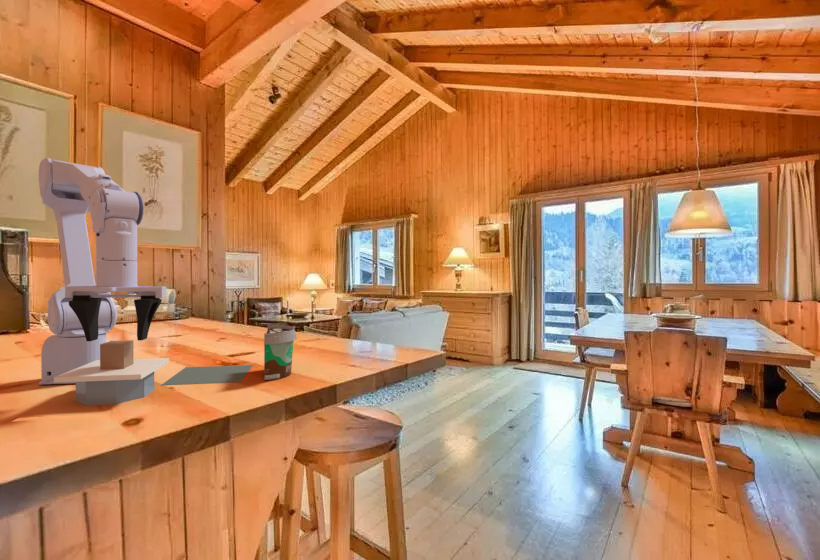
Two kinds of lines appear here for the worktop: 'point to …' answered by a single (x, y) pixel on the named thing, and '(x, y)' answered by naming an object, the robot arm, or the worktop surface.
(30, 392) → the worktop surface
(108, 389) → the bowl
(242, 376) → the mat
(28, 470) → the worktop surface
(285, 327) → the food container
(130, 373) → the lid
